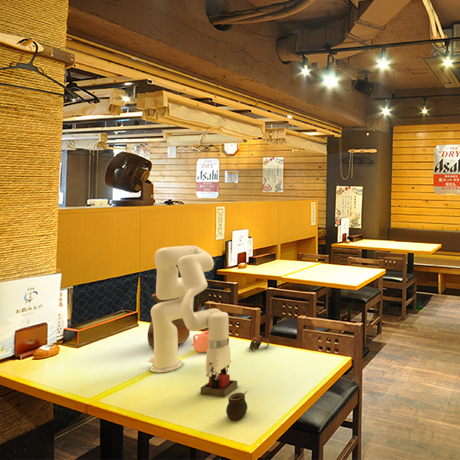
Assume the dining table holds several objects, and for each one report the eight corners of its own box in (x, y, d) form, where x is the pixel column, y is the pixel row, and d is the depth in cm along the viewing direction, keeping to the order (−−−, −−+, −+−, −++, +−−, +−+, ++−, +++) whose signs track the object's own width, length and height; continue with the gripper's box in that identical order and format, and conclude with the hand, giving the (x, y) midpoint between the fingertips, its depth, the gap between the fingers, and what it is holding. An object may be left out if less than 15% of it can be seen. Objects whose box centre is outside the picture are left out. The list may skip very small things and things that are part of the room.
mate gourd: (230, 411, 138) (230, 385, 137) (251, 411, 138) (251, 385, 137) (222, 422, 130) (222, 395, 130) (244, 422, 131) (244, 395, 130)
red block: (208, 387, 151) (208, 377, 151) (216, 382, 156) (215, 373, 156) (223, 388, 150) (222, 379, 150) (229, 383, 155) (229, 374, 154)
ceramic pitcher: (165, 337, 213) (164, 287, 212) (197, 339, 211) (197, 288, 210) (138, 350, 194) (136, 294, 192) (173, 352, 192) (172, 296, 190)
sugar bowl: (212, 354, 190) (212, 335, 190) (185, 353, 191) (185, 334, 190) (224, 345, 203) (223, 327, 202) (199, 345, 203) (198, 327, 202)
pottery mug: (249, 346, 203) (257, 332, 205) (265, 353, 204) (272, 339, 206) (245, 349, 191) (253, 334, 193) (261, 356, 192) (269, 341, 194)
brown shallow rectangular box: (200, 394, 150) (200, 387, 150) (214, 384, 158) (214, 378, 158) (224, 397, 148) (224, 390, 148) (237, 387, 156) (237, 380, 156)
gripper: (223, 334, 161) (224, 375, 162) (196, 349, 144) (196, 394, 145) (239, 336, 160) (239, 376, 161) (213, 350, 143) (213, 396, 144)
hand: (219, 384), depth 153 cm, fingers closed on red block, 4 cm apart
